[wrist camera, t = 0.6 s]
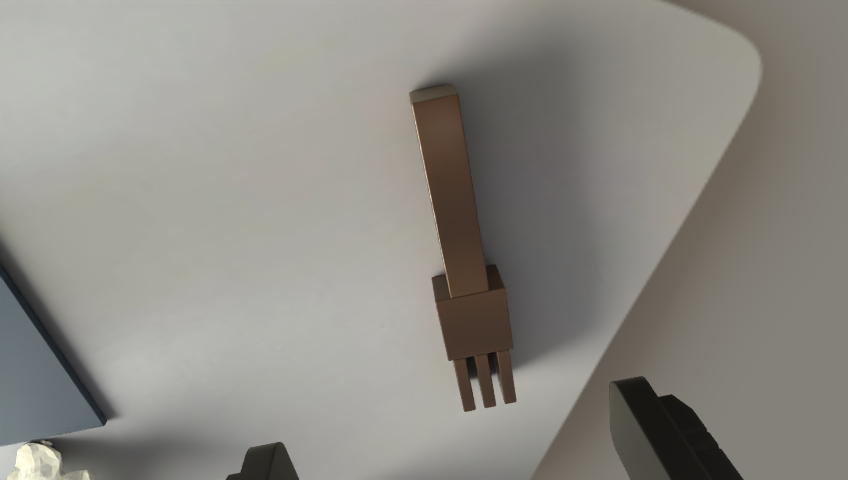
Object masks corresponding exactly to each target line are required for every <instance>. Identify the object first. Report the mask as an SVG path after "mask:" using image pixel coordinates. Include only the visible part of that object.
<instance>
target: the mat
mask: <svg viewBox="0 0 848 480" xmlns="http://www.w3.org/2000/svg"><path fill="white" fill-rule="evenodd" d="M106 422H107V420H106V419H105V417H104V416H103V414H102V413H101V411H100V410H99V409H98V407H97V406H96V404H95V403H94V401H93V400H92V398H91V397H90V395H89V394H88V392H87V391H86V389H85V388H84V387H83V385H82V384H81V382H80V381H79V379H78V378H77V376H76V375H75V373H74V372H73V370H72V369H71V367H70V366H69V365H68V363H67V362H66V360H65V359H64V357H63V356H62V354H61V353H60V351H59V350H58V348H57V347H56V345H55V344H54V342H53V341H52V340H51V338H50V337H49V335H48V334H47V332H46V331H45V329H44V328H43V326H42V325H41V323H40V322H39V320H38V319H37V318H36V316H35V315H34V313H33V312H32V310H31V309H30V307H29V306H28V304H27V303H26V301H25V300H24V298H23V297H22V295H21V294H20V293H19V291H18V290H17V288H16V287H15V285H14V284H13V282H12V281H11V279H10V278H9V276H8V275H7V273H6V272H5V271H4V269H3V268H2V266H1V265H0V446H5V445H10V444H15V443H20V442H25V441H31V440H36V439H41V438H46V437H51V436H56V435H61V434H66V433H71V432H76V431H81V430H86V429H91V428H96V427H101V426H104V425H105V424H106Z"/></svg>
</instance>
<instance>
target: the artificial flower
mask: <svg viewBox="0 0 848 480" xmlns="http://www.w3.org/2000/svg"><path fill="white" fill-rule="evenodd" d="M40 442H42V443H44V444H37V443H26V444H24V445H23V446H22V447H21V448H20V449H19V450H18V453H17V462H16V465H15V469H14V470H13V471H12V473H11V474H10V475H9V477H8V479H7V480H95V478H94V474H93V473H91V472H90V471H88V470H77V471H73V472H70V473H67V474H65V473H63V461H62V457H61V454H60V452H58V451H56V450H55V449H53V448H51V447H50V446H49V445H53V444H52V443H51V442H49V441H46V442H45V440H43V441H40ZM45 444H48V445H45ZM53 447H54V446H53Z"/></svg>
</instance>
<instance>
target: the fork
mask: <svg viewBox="0 0 848 480" xmlns="http://www.w3.org/2000/svg"><path fill="white" fill-rule="evenodd" d="M409 96H410V101H411V106H412V111H413V116H414V121H415V126H416V131H417V136H418V141H419V145H420V150H421V155H422V160H423V165H424V170H425V175H426V180H427V185H428V190H429V195H430V199H431V204H432V209H433V214H434V219H435V224H436V229H437V234H438V239H439V244H440V249H441V253H442V258H443V263H444V268H445V273H446V275H442V276H437V277H432V283H433V290H434V296H435V302H436V307H437V311H438V316H439V320H440V325H441V329H442V334H443V338H444V343H445V348H446V352H447V357H448V360H449V361H451V360H453V362H454V367H455V372H456V376H457V381H458V386H459V390H460V395H461V399H462V404H463V409H464V411H465V412H467V411H472V410H475V409H476V407H475V402H474V397H473V392H472V387H471V382H470V377H469V372H468V367H467V362H466V357H471V356H473V357H474V362H475V367H476V372H477V378H478V382H479V386H480V391H481V395H482V399H483V404H484V407H485V408H489V407H494V406H496V401H495V395H494V389H493V384H492V378H491V372H490V366H489V361H488V355H487V353H491V352H493V355H494V361H495V367H496V373H497V378H498V381H499V385H500V388H501V392H502V395H503V399H504V402H505V404H508V403H514V402H516V394H515V387H514V380H513V373H512V367H511V360H510V353H509V349H512V348H513V341H512V334H511V327H510V320H509V313H508V306H507V299H506V292H505V287H504V284H503V282H502V279H501V277H500V274H499V271H498V269H497V266H496V265H491V266H485V260H484V254H483V247H482V241H481V235H480V228H479V222H478V216H477V210H476V203H475V197H474V191H473V184H472V178H471V172H470V166H469V159H468V153H467V147H466V140H465V134H464V128H463V121H462V115H461V109H460V103H459V96H458V94H457V92H456V90H455V89H454V87H453V86H452V84H445V85H440V86H435V87H431V88H426V89H421V90H417V91H412V92H409Z"/></svg>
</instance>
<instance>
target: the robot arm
mask: <svg viewBox="0 0 848 480" xmlns="http://www.w3.org/2000/svg"><path fill="white" fill-rule="evenodd" d="M609 395H610V396H609V399H610V431H611V436H612V440H613V443H614V446H615V448H616V451H617V453H618V455H619V457H620V459H621V461H622V463H623V465H624V467H625V470H626V472H627V474H628V476H629V478H630V480H743V479H742V477H741V476H740V474H739V473H738V471H737V470H736V469H735V467H734V466H733V465H732V463H731V462H730V460H729V459H728V458H727V456H726V455H725V453H724V452H723V451H722V449H719V447H718V444H717V442H716V441H715V440H714V438H713V437H712V435H711V434H710V433H708V432H707V429H706V427H705V426H704V424H703V423H702V422H701V420H700V419H699V418H698V416H697V415H696V413H695V412H694V411H693V409H691V408H690V407H688V406H687V405H686V404H684V403H683V402H682V401H680V400H679V399H677V398H676V397H675V396H673V395H672V394H671V395H666V396H661V397H658V396H657V395H656V393H655V392H654V390H653V389H652V387H651V386H650V384H649V383H648V381H647V380H646V379H645V378H644V377H643V376H639V377H634V378H628V379H623V380H618V381H612V382H610V386H609ZM226 480H299V478H298V476H297V473H296V471H295V469H294V466H293V464H292V462H291V460H290V457H289V455H288V453H287V450H286V448H285V446H284V444H283V443H282V442H277V443H272V444H266V445H261V446H256V447H250V448H249V449H248V451H247V452H246V455H245V459H244V462H243V465H242V469H241V472H240V473H237V474H231V475H229V476H228V477H227V478H226Z"/></svg>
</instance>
